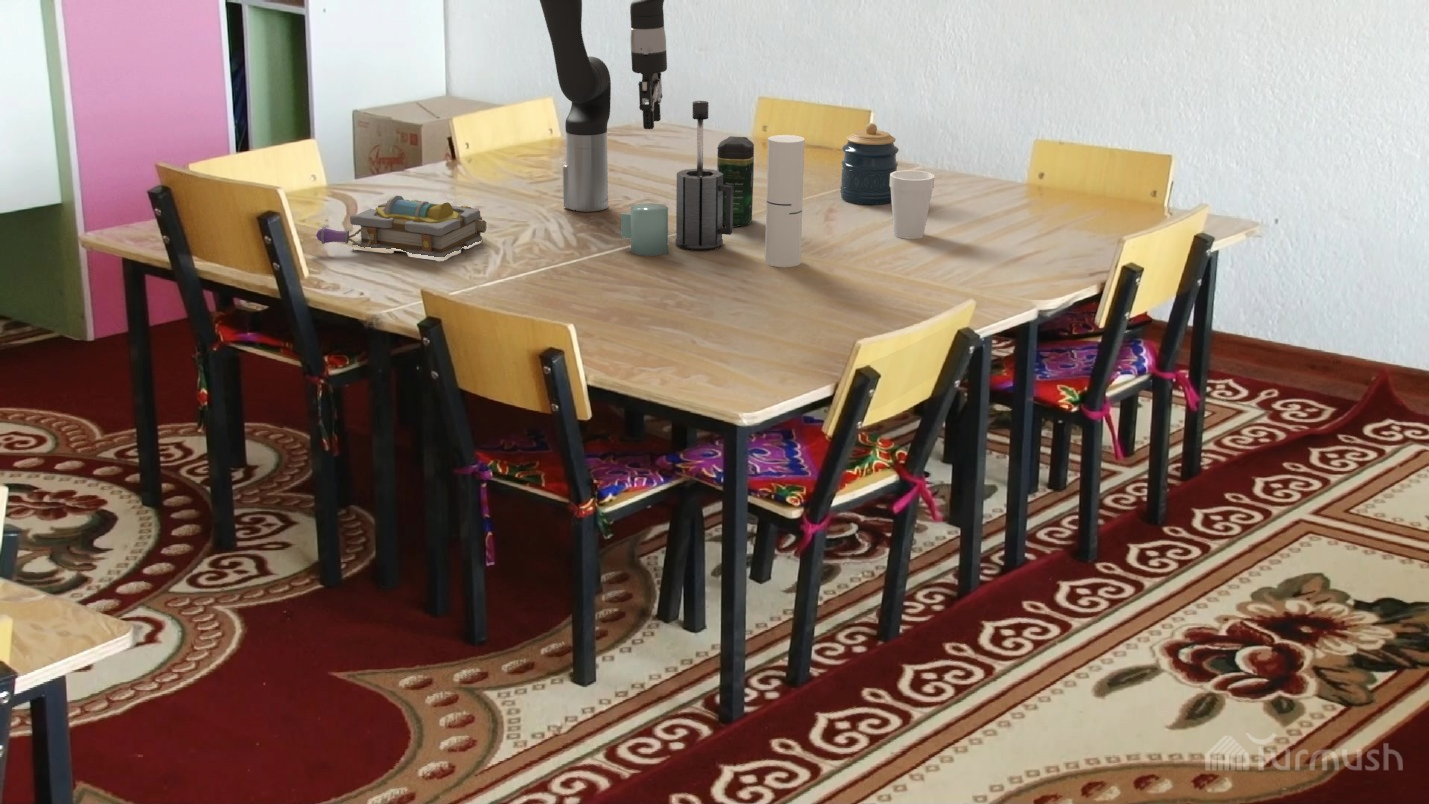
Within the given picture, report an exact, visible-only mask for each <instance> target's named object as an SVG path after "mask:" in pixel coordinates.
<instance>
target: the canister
mask: <svg viewBox="0 0 1429 804" xmlns="http://www.w3.org/2000/svg"><path fill="white" fill-rule="evenodd" d="M845 139H846V141H847V143H846V144H844V145H842V147H841V148H842V149H841V150H842V151H843V152H844V153H843V159H842V160H841V181H840V182H841V184H840V198H841V199H842V200H843V201H845V202H848V203H851V204H856V205H857V204H858V205H868V206H870V205H875V206H876V205H884V204H889V203H892V201H891V187H890V173H892V172H895V171H898V166H899V164H898V161H897V154H898V153H899V152H900V151H899V150H900V149H899V148H898V147H897V146H896V145H895V144H894V143H895V142H896V138H895V137H894V136H892V135H891V134H890V132H887V131H884V130H879V129H878V127H877V125H876V124H875V123H873V122H871V123H870V122H869V123H868V124H866V126H865V129H860V130H856V131H855V130H854V131H853V132H852V133H851V134H849V135H847V136H846V138H845Z"/></svg>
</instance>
